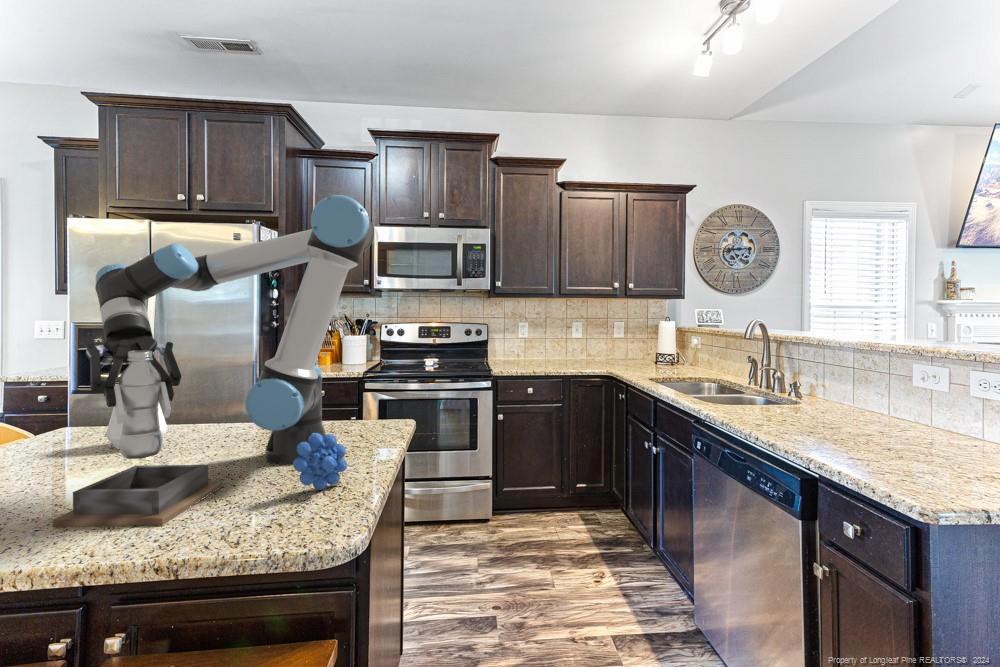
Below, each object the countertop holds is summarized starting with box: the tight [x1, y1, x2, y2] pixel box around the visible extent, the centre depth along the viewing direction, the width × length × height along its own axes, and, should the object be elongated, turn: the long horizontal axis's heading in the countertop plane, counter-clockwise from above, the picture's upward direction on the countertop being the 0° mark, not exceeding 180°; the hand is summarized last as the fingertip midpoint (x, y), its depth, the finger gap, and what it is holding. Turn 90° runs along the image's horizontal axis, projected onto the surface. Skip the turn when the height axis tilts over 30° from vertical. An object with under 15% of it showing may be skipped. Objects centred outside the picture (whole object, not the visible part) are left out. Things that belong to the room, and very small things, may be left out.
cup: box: [105, 403, 168, 450], centre depth 128 cm, size 13×13×14 cm
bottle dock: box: [52, 464, 223, 528], centre depth 87 cm, size 18×18×5 cm
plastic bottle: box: [118, 351, 164, 460], centre depth 87 cm, size 6×7×20 cm
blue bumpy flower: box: [292, 433, 348, 491], centre depth 94 cm, size 12×7×12 cm, turn 141°
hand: (145, 416), depth 84 cm, fingers closed on plastic bottle, 6 cm apart
